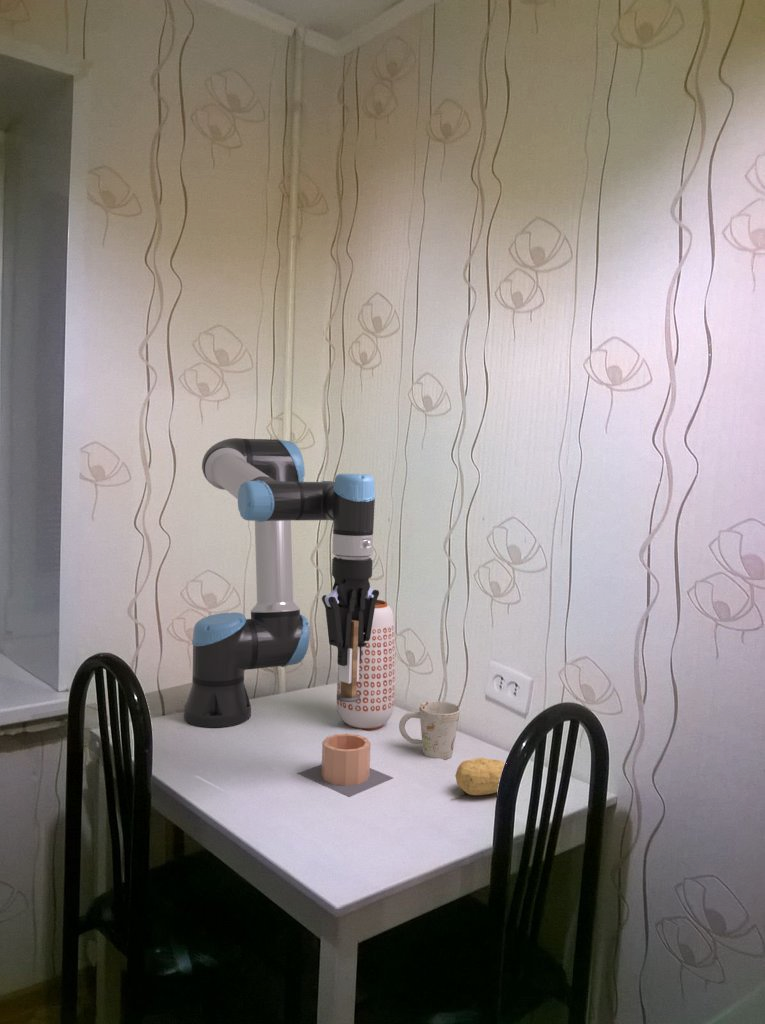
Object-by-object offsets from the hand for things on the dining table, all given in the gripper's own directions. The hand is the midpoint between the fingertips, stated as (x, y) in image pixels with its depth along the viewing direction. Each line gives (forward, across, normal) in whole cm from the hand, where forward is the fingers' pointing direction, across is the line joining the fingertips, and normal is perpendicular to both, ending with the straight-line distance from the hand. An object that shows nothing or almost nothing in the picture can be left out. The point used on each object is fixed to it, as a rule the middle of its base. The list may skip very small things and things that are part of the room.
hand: (348, 680), depth 146 cm
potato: (+19, +14, -22) cm, 32 cm away
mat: (+19, 0, 0) cm, 19 cm away
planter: (+19, +24, +18) cm, 36 cm away
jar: (+18, 0, 0) cm, 18 cm away
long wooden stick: (+3, 0, 0) cm, 3 cm away
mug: (+19, +21, -3) cm, 28 cm away
